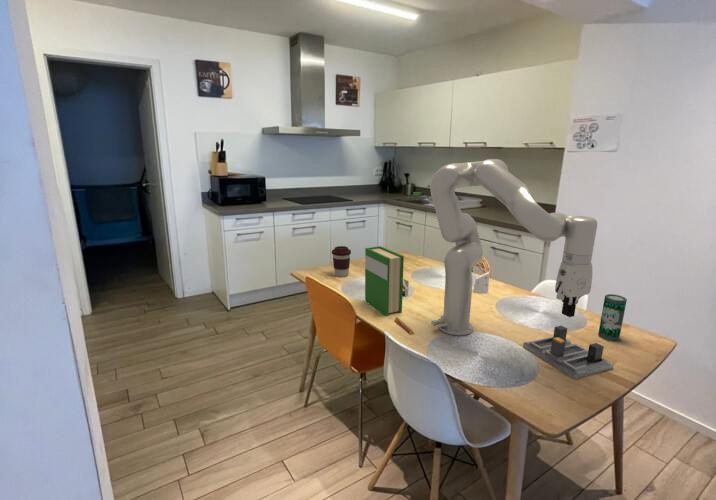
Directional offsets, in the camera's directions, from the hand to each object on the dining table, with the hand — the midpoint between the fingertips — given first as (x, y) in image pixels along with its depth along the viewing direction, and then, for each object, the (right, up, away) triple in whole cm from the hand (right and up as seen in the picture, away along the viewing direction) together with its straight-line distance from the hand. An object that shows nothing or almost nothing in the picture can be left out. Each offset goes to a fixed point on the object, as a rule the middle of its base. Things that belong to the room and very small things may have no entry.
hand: (567, 315), depth 119 cm
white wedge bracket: (-8, 0, +61) cm, 61 cm away
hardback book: (-54, -4, +44) cm, 70 cm away
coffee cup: (-74, +7, +84) cm, 112 cm away
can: (+24, -11, +18) cm, 32 cm away
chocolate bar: (-48, -9, +25) cm, 55 cm away
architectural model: (-44, -1, +58) cm, 73 cm away
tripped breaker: (-2, -13, +3) cm, 13 cm away
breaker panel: (+2, -14, +4) cm, 15 cm away
